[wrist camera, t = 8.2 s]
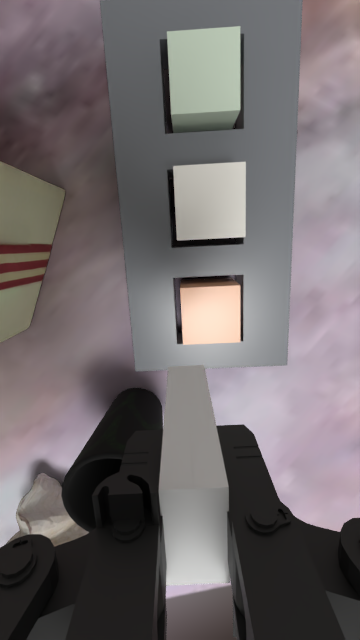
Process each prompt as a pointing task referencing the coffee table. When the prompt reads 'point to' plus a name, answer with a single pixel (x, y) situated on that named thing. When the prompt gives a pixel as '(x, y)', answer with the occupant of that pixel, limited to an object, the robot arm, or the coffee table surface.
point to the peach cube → (210, 311)
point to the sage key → (204, 78)
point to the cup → (107, 451)
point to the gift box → (24, 244)
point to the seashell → (46, 513)
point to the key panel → (205, 148)
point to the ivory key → (210, 200)
